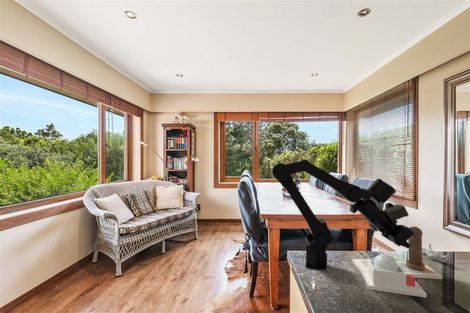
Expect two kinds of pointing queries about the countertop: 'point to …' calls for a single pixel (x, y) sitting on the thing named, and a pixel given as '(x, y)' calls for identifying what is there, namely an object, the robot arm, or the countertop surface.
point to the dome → (385, 263)
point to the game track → (409, 271)
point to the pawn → (415, 250)
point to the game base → (391, 281)
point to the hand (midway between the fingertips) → (408, 247)
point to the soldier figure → (435, 255)
